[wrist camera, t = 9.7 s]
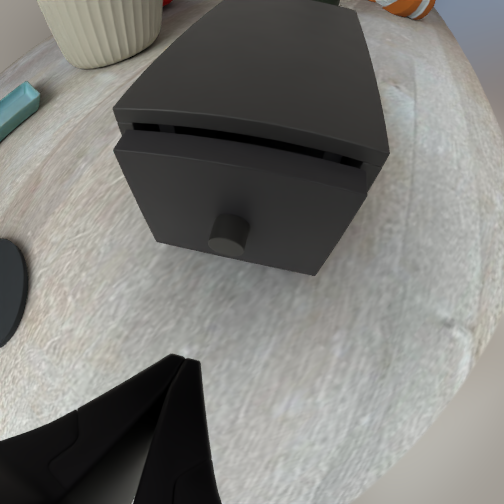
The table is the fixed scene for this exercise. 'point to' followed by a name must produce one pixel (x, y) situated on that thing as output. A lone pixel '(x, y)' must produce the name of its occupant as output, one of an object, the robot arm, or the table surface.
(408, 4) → the alarm clock
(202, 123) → the cabinet
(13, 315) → the coaster
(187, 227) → the drawer
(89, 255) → the table surface
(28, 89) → the rectangular tray
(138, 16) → the canister
